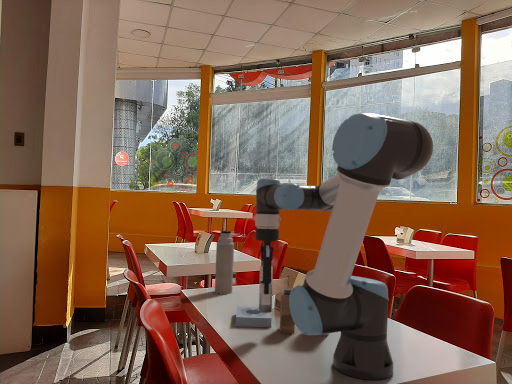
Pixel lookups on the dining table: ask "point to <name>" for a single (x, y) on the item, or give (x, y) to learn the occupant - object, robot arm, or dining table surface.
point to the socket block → (252, 317)
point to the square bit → (286, 313)
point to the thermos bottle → (224, 263)
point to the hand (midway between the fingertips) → (265, 302)
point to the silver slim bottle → (261, 307)
